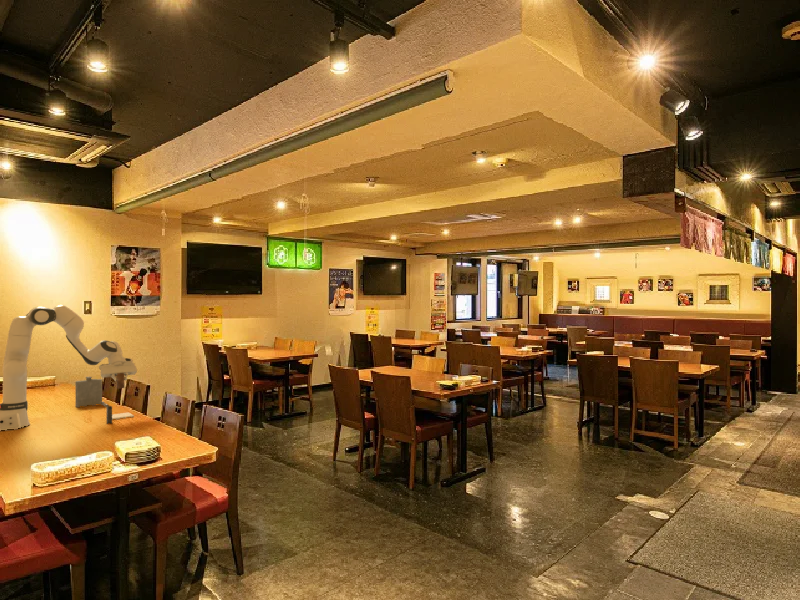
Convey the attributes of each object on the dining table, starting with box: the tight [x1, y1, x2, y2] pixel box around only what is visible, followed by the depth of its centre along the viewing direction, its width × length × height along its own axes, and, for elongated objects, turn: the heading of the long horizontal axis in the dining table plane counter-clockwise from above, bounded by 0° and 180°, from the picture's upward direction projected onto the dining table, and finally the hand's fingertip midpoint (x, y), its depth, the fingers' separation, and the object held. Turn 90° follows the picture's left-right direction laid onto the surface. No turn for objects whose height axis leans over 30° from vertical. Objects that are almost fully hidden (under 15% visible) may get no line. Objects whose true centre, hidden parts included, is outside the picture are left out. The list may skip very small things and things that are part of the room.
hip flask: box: [75, 376, 103, 408], centre depth 356 cm, size 16×4×20 cm, turn 130°
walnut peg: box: [116, 373, 125, 389], centre depth 321 cm, size 4×4×9 cm
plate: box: [112, 411, 135, 421], centre depth 321 cm, size 12×12×1 cm
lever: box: [100, 401, 113, 425], centre depth 310 cm, size 2×18×10 cm, turn 42°
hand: (121, 380), depth 320 cm, fingers closed on walnut peg, 4 cm apart
